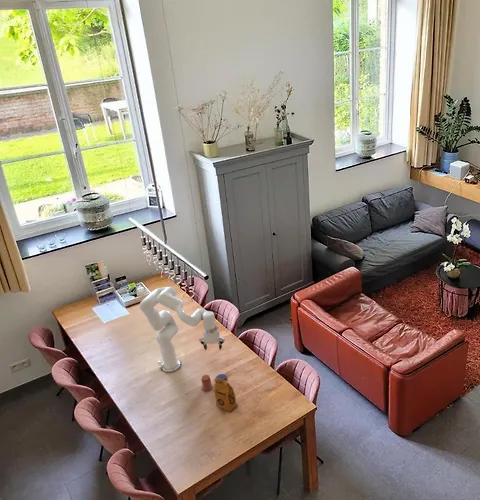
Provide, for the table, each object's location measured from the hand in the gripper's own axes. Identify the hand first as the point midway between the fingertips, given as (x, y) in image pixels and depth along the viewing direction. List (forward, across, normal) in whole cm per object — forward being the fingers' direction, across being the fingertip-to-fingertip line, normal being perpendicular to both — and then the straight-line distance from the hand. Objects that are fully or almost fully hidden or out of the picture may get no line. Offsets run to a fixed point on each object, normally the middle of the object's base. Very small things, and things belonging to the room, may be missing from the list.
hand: (213, 348), depth 359 cm
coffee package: (+24, -12, +30) cm, 40 cm away
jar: (+24, +4, +12) cm, 27 cm away
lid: (+22, -3, +4) cm, 23 cm away
